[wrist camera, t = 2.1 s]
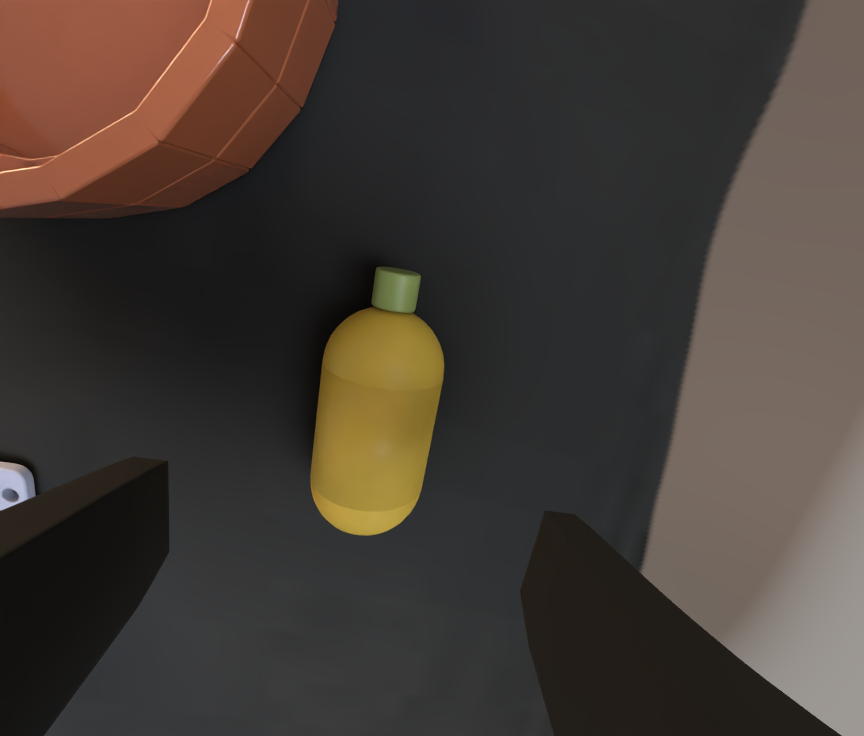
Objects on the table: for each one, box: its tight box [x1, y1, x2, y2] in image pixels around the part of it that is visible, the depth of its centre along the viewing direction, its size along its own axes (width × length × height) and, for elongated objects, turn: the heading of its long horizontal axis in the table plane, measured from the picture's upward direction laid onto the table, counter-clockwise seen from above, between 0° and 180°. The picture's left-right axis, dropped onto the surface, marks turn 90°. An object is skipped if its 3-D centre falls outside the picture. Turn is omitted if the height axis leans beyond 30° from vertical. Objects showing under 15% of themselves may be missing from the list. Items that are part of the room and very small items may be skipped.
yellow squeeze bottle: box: [310, 267, 444, 535], centre depth 13 cm, size 8×3×3 cm, turn 170°
